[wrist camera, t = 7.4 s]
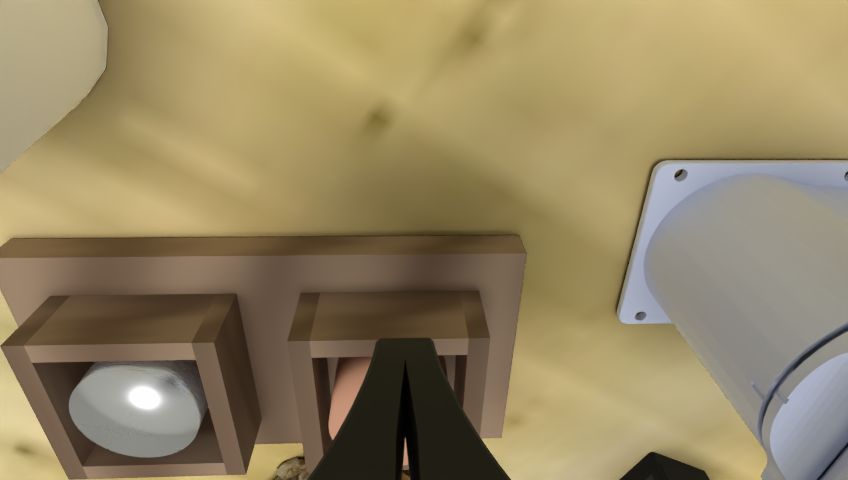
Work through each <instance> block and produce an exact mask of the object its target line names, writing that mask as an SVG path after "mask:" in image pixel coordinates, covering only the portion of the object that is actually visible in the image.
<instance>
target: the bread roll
mask: <svg viewBox="0 0 848 480" xmlns="http://www.w3.org/2000/svg"><path fill="white" fill-rule="evenodd" d="M275 473H276V474H277V475H278V477H277V478H276V479H275V480H307V479H308V478H309V476H310V475H311V473H307V470H306V464H305V459H298V458H296V457H295V458H293V459H290V460H289V461H287V462H285V463H283V464H282V465H281V466H280V467H279V468H278V470H277V471H276V472H275ZM402 480H410V477H409V476H408V475H406V474H404V472H402Z"/></svg>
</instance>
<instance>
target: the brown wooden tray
mask: <svg viewBox="0 0 848 480" xmlns="http://www.w3.org/2000/svg"><path fill="white" fill-rule="evenodd" d="M526 255H527V253H526V251H525V248H524V246H523V244H522V241H521V239H520V236H519V235H482V236H341V237H200V238H59V239H10V240H9V241H7V242H6V243H5V244H3V245H2V246H1V247H0V290H1V292H2V294H3V296H4V298H5V300H6V302H7V304H8V306H9V308H10V310H11V313H12V315H13V317H14V319H15V321H16V323H17V325H18V327H19V328H18V329H17V330H16V331H15V332H14V333H13V334H12V335H11V336H10V337H9V338H8V339H7V340H6V341H5V342H4V343H3V344H2V345H1V346H0V347H1V349H2V351H3V353H4V355H5V356H6V358H7V360H8V362H9V364H10V366H11V368H12V370H13V372H14V374H15V376H16V378H17V380H18V382H19V384H20V386H21V388H22V389H23V391H24V393H25V395H26V397H27V399H28V401H29V403H30V405H31V407H32V409H33V411H34V413H35V415H36V417H37V419H38V421H39V423H40V424H41V426H42V428H43V430H44V432H45V434H46V436H47V438H48V440H49V442H50V444H51V446H52V448H53V450H54V452H55V454H56V456H57V457H58V459H59V461H60V463H61V465H62V467H63V469H64V471H65V473H66V475H67V477H68V479H104V478H139V477H174V476H209V475H245V474H246V473H247V469H248V466H249V462H250V459H251V455H252V452H253V448H254V445H255V444H281V443H302V444H303V450H304V457H305V464H306V470H307V473H312V472H313V471H314V469H315V468H316V466H317V465H318V463H319V462H320V460H321V459H322V457H323V456H324V454H325V452H326V451H327V449H328V448H329V446H330V444H331V443H332V441H333V440H332V438H331V436H330V433H329V416H330V409H331V402H332V395H333V388H334V381H335V374H336V367H337V361H338V359H339V357H372V356H373V352H374V349H375V343H376V341H378V340H379V339H380V338H430V339H432V340H433V341H434V345H435V349H436V352H437V355H443V356H444V358H445V362H446V368H447V377H448V381H449V383H450V385H451V387H452V389H453V391H454V393H455V395H456V397H457V399H458V401H459V403H460V405H461V407H462V408H463V410H464V412H465V414H466V415H467V417H468V419H469V420H470V422H471V424H472V425H473V427H474V428H475V430H476V432H477V433H478V435H479V436H480V438H502V431H503V423H504V416H505V409H506V401H507V394H508V387H509V379H510V372H511V365H512V357H513V350H514V343H515V335H516V328H517V321H518V313H519V306H520V299H521V291H522V284H523V277H524V269H525V262H526ZM154 360H196V362H197V366H198V370H199V373H200V377H201V381H202V385H203V388H204V392H205V396H206V399H207V403H208V408H207V410H206V413H205V415H204V417H203V420H202V422H201V425H200V427H199V430H198V432H197V434H196V437H195V438H194V440H193V441H192V442H191V443H190V444H189V445H188V446H187V447H185V448H184V449H182V450H180V451H178V452H176V453H173V454H170V455H166V456H161V457H151V458H148V457H134V456H128V455H123V454H120V453H116V452H113V451H111V450H108V449H106V448H104V447H102V446H100V445H98V444H96V443H95V442H93V441H92V440H90V439H89V438H88V437H86V436H85V435H84V434H83V433H82V432H81V431H80V430H79V429H78V428H77V426H76V425H75V423H74V422H73V420H72V418H71V415H70V412H69V400H70V396H71V394H72V392H73V390H74V389H75V388H76V386H77V385H78V384H79V382H80V381H81V379H82V378H83V377H84V375H85V374H86V373H87V371H88V370H89V368H90V367H91V366H92V364H93V363H94V362H98V361H154ZM403 470H409V465H404V466H403Z"/></svg>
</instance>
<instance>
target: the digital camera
mask: <svg viewBox="0 0 848 480" xmlns="http://www.w3.org/2000/svg"><path fill="white" fill-rule="evenodd" d="M655 454H656V455H655ZM656 456H657V457H656ZM657 458H658V459H657ZM658 460H659V461H658ZM621 480H709V478H708V476H707V474H706V473H705V471H703V470H700V469H697V468H695V467H692V466H689V465H687V464H684V463H681V462H679V461H676V460H673V459H671V458H668V457H665V456H662V455H660V454H657V453H654V452H651V453H650V454H649V455H648V456H647V457H645V458H644V459H643V460H642V461H641V462H640V463H639V464H637V465H636V466H635V467H634V468H633V469H632V470H631V471H630V472H629V473H627V474H626V475H625V476H624V477H623V478H622V479H621Z"/></svg>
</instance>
